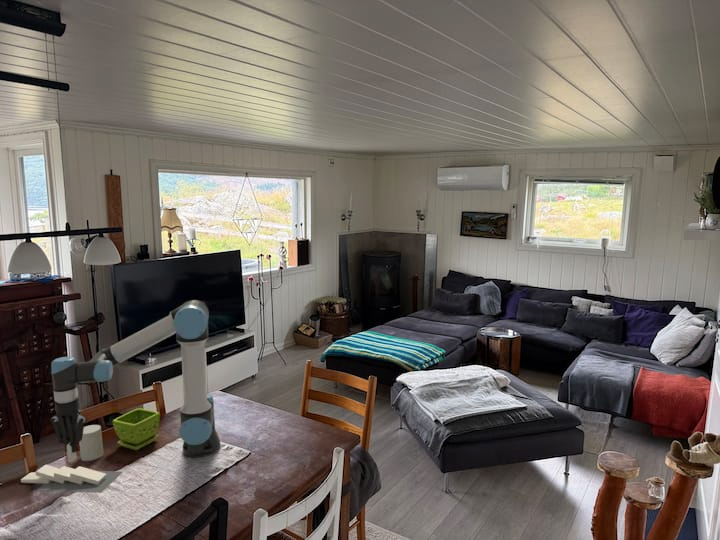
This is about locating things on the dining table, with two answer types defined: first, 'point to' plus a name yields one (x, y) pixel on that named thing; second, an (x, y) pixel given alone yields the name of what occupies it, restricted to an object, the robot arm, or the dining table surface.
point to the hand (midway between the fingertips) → (72, 459)
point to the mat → (83, 487)
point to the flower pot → (137, 428)
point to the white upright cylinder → (91, 443)
